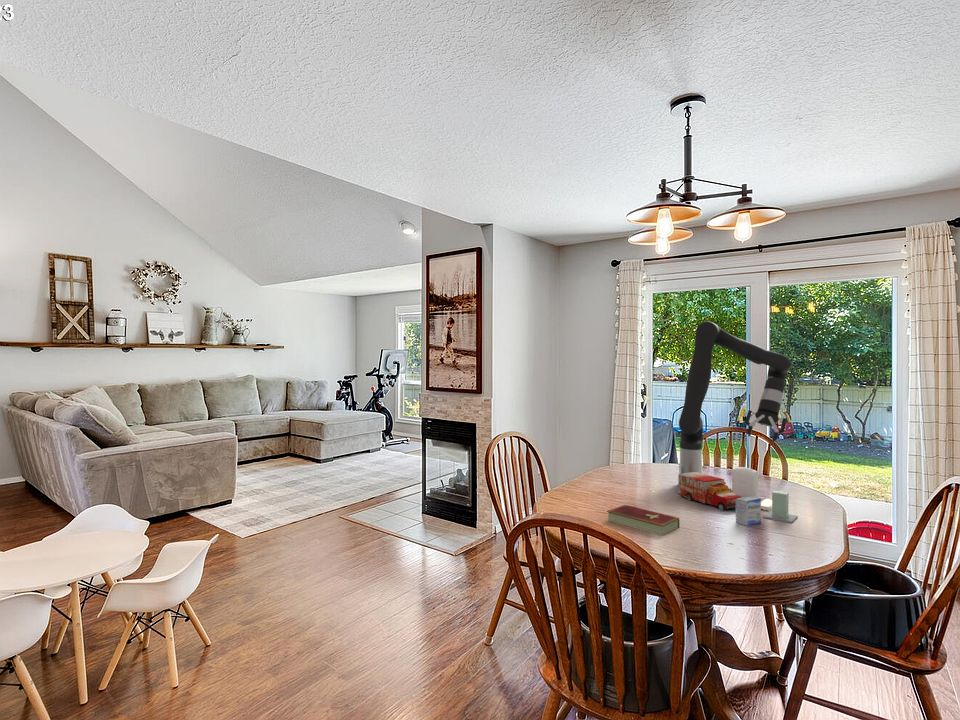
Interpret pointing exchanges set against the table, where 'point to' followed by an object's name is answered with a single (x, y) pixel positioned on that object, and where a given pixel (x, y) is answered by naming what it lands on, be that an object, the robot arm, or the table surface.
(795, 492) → the table surface
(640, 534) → the table surface
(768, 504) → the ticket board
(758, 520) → the medicine box
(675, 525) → the hardcover book
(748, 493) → the photo printer
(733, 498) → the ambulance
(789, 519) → the stub pad
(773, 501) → the stub block
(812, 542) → the table surface
